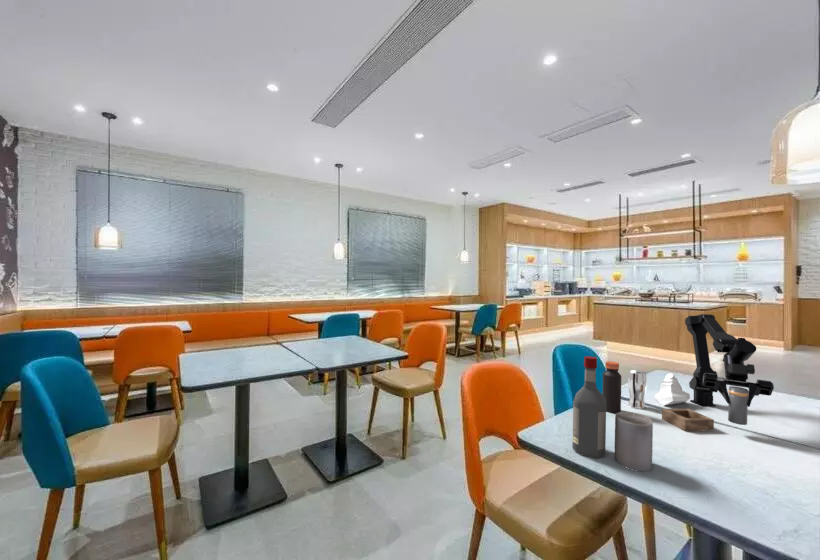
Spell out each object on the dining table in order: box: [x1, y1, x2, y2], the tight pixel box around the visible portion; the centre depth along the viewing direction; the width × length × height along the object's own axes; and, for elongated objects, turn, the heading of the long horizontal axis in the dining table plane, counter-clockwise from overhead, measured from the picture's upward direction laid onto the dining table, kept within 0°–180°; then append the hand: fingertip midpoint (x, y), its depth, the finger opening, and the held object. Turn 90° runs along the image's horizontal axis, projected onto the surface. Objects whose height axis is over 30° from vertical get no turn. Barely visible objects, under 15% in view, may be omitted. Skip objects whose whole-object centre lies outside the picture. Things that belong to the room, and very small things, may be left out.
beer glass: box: [627, 369, 648, 410], centre depth 154 cm, size 7×7×15 cm
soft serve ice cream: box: [654, 372, 691, 407], centre depth 159 cm, size 12×15×14 cm
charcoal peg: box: [727, 385, 749, 426], centre depth 127 cm, size 5×5×12 cm
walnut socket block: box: [661, 408, 715, 432], centre depth 136 cm, size 11×11×4 cm
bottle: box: [602, 361, 622, 414], centre depth 149 cm, size 7×7×20 cm
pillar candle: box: [613, 411, 654, 472], centre depth 107 cm, size 10×10×15 cm
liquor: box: [571, 355, 607, 459], centre depth 114 cm, size 9×9×30 cm
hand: (738, 404), depth 126 cm, fingers closed on charcoal peg, 5 cm apart
